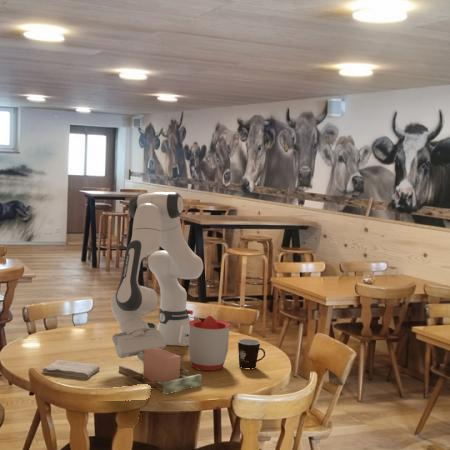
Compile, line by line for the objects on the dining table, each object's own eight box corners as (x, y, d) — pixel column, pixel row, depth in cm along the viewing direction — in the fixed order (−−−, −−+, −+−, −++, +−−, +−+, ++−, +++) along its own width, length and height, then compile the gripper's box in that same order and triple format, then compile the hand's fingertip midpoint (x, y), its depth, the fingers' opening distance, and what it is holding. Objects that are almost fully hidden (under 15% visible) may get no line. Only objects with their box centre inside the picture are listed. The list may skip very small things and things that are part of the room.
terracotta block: (156, 374, 248) (157, 347, 247) (179, 384, 239) (180, 356, 238) (143, 377, 244) (144, 350, 243) (165, 387, 234) (167, 359, 234)
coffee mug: (232, 364, 266) (234, 339, 265) (252, 363, 269) (254, 338, 268) (245, 373, 255) (247, 347, 254) (265, 372, 258) (267, 346, 258)
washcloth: (55, 365, 253) (55, 357, 253) (100, 371, 250) (101, 362, 249) (40, 375, 242) (40, 366, 241) (88, 380, 238) (88, 372, 238)
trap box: (157, 363, 261) (158, 353, 261) (208, 384, 241) (209, 373, 240) (105, 373, 245) (106, 363, 245) (155, 397, 224) (156, 385, 224)
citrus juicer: (223, 359, 272) (225, 310, 270) (230, 373, 254) (234, 320, 253) (184, 359, 269) (186, 309, 267) (189, 373, 252) (192, 320, 250)
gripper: (114, 329, 243) (129, 363, 237) (159, 323, 257) (174, 354, 251) (106, 339, 247) (121, 372, 240) (151, 332, 261) (166, 363, 254)
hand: (148, 363), depth 246 cm, fingers closed, pressing on terracotta block
